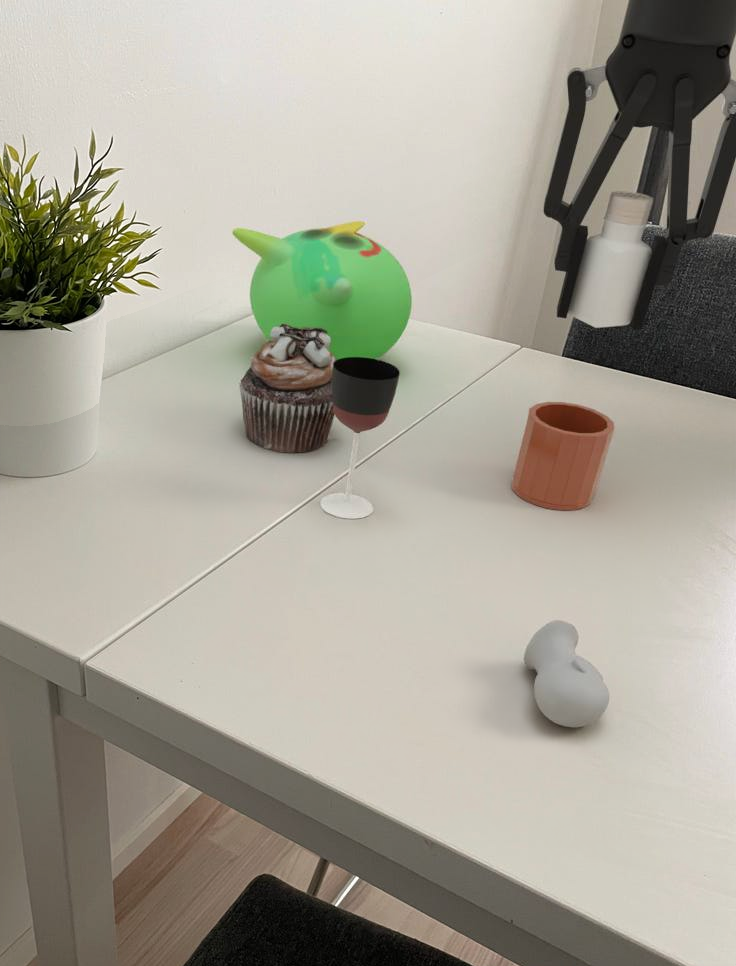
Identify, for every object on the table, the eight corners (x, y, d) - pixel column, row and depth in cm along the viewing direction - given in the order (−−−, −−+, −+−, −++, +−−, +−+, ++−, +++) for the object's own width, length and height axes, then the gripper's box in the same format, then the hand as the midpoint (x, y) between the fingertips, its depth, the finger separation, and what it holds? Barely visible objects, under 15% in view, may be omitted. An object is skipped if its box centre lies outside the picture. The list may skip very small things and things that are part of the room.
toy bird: (427, 368, 113) (452, 232, 104) (337, 404, 102) (356, 256, 94) (304, 325, 122) (318, 197, 114) (209, 354, 111) (217, 215, 103)
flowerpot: (591, 481, 92) (612, 409, 88) (592, 516, 86) (616, 441, 82) (512, 467, 93) (530, 396, 89) (509, 501, 87) (527, 426, 83)
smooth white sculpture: (594, 756, 62) (522, 727, 61) (575, 676, 69) (509, 650, 68) (635, 709, 60) (560, 678, 59) (612, 631, 66) (543, 602, 65)
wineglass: (324, 487, 87) (342, 352, 80) (383, 500, 86) (405, 365, 79) (308, 510, 83) (325, 371, 76) (369, 525, 82) (392, 384, 75)
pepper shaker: (599, 311, 83) (633, 189, 78) (633, 327, 80) (671, 201, 75) (562, 314, 82) (594, 190, 76) (595, 330, 79) (630, 202, 73)
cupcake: (232, 412, 98) (239, 311, 93) (328, 416, 100) (341, 316, 94) (239, 455, 91) (247, 347, 85) (344, 458, 92) (359, 352, 86)
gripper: (556, -39, 66) (482, 314, 79) (849, -11, 63) (720, 351, 76) (557, -39, 72) (488, 289, 85) (824, -14, 69) (709, 322, 82)
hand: (598, 317), depth 81 cm, fingers closed on pepper shaker, 5 cm apart
